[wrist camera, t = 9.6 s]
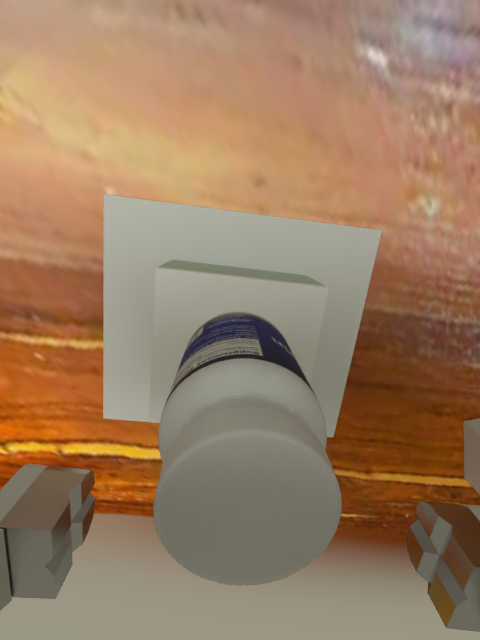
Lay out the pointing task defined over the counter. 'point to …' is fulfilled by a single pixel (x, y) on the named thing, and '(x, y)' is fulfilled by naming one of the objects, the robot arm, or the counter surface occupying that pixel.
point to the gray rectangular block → (472, 453)
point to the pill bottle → (244, 458)
